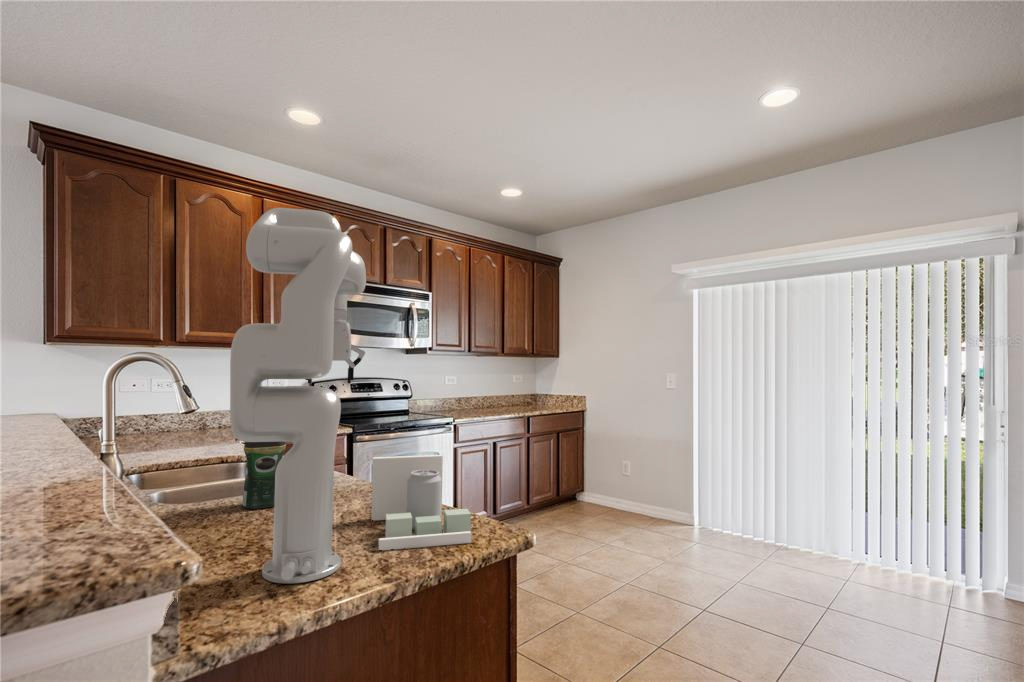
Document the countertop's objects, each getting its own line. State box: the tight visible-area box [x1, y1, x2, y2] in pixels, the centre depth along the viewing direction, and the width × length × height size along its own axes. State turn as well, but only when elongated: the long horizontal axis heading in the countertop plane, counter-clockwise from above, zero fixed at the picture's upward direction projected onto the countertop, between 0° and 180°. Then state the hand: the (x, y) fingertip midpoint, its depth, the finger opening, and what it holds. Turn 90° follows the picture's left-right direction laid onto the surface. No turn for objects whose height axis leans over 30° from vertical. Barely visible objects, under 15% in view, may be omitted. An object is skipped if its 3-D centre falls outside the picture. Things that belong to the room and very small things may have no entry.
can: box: [407, 470, 442, 531], centre depth 114 cm, size 8×8×12 cm
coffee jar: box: [242, 442, 287, 510], centre depth 130 cm, size 10×8×19 cm
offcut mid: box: [414, 516, 443, 536], centre depth 106 cm, size 4×5×4 cm
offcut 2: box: [443, 508, 472, 533], centre depth 108 cm, size 4×5×5 cm
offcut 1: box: [384, 512, 413, 538], centre depth 104 cm, size 4×5×5 cm
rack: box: [371, 454, 472, 551], centre depth 111 cm, size 22×19×14 cm
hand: (329, 383), depth 133 cm, fingers open, 9 cm apart
